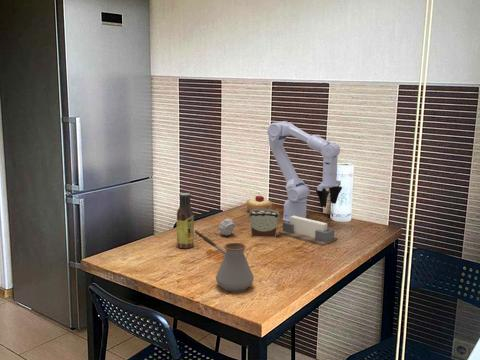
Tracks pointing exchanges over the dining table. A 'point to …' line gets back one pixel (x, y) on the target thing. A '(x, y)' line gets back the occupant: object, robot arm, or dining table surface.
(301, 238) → the base board
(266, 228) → the food container
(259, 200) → the pastry
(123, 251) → the dining table surface
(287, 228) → the end caps
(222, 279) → the coffee pot
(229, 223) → the crumpled paper ball
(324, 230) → the slat
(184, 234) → the sauce bottle
